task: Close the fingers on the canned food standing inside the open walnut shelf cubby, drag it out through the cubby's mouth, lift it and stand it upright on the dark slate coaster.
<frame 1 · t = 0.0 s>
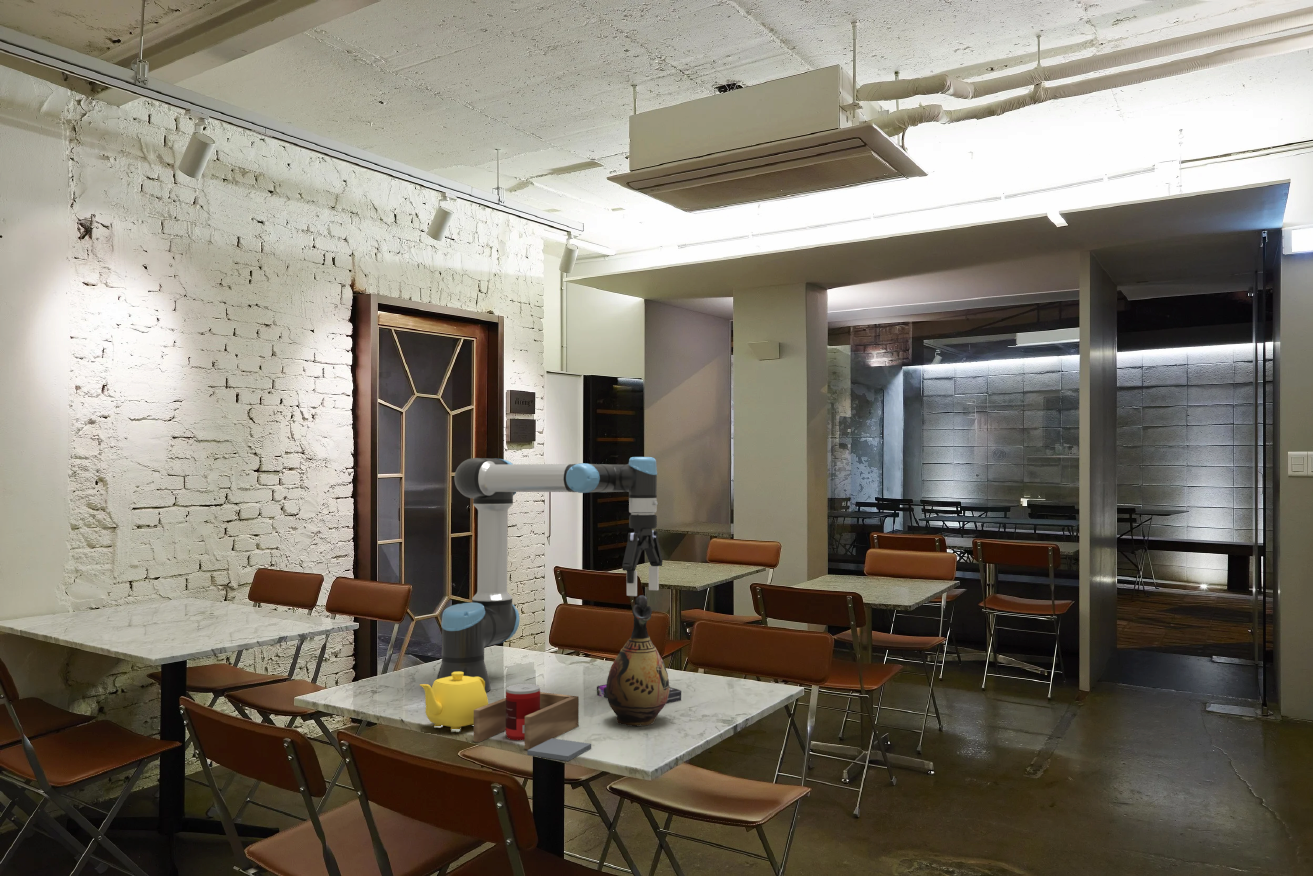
hand: (643, 593, 247), 28 cm above the table, fingers open, 13 cm apart
shelf: (527, 733, 212), on the table
ceramic jug: (637, 721, 223), on the table
teapot: (452, 728, 217), on the table
box: (638, 700, 246), on the table
coaster: (559, 751, 198), on the table
canned food: (522, 736, 210), resting in shelf
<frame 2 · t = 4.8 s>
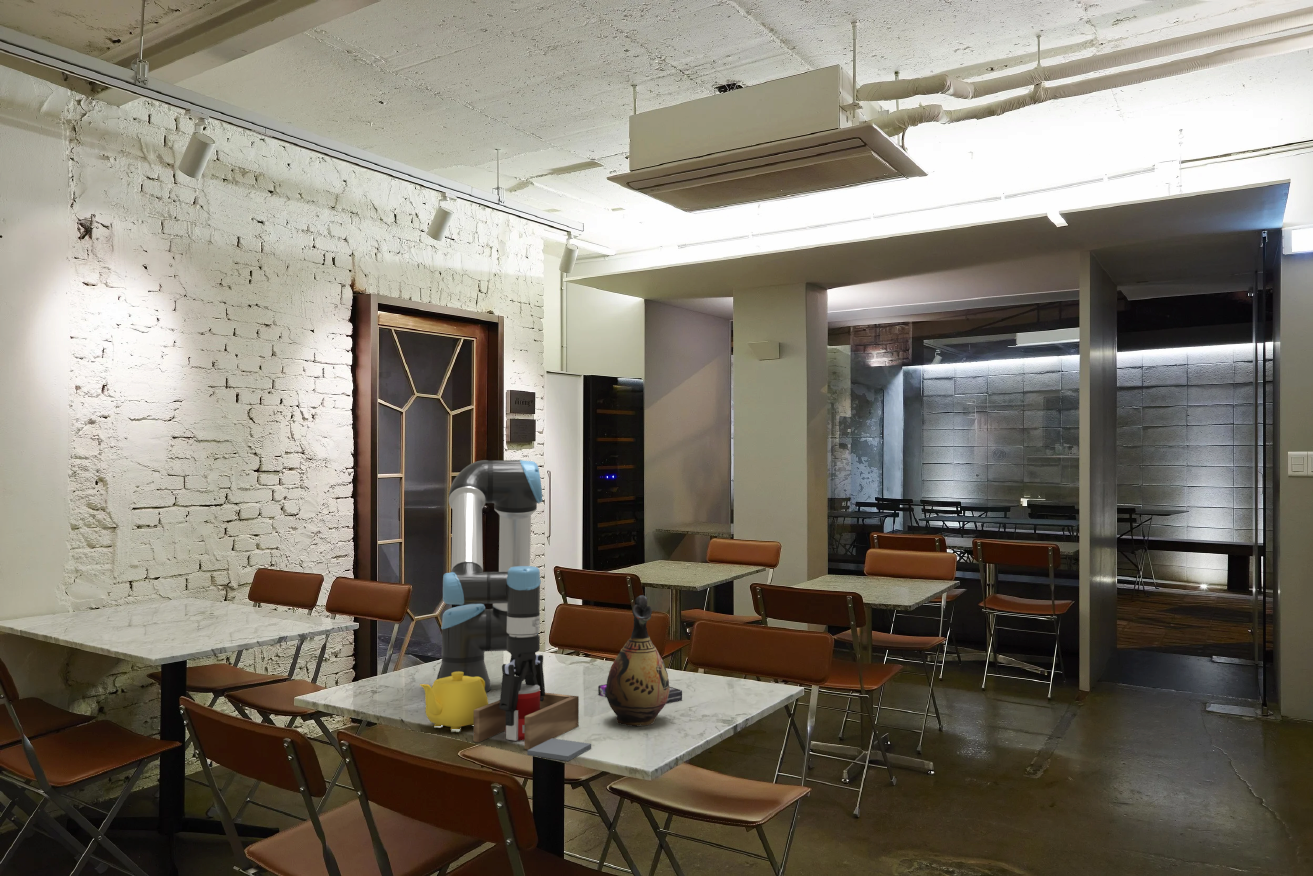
hand: (522, 734, 210), 0 cm above the table, fingers closed on canned food, 8 cm apart
canned food: (522, 736, 210), resting in shelf, touching gripper
everything else where it was.
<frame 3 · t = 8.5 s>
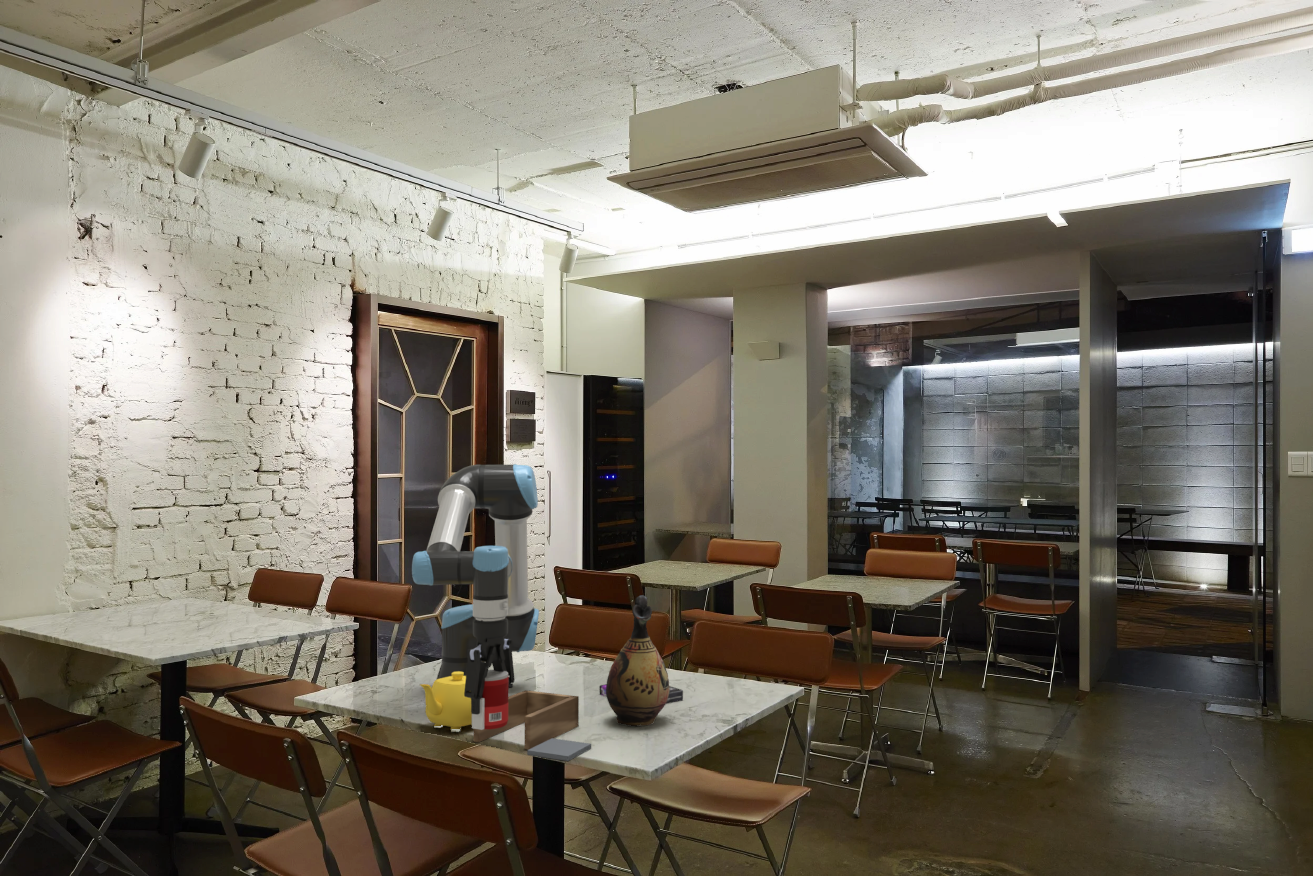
hand: (490, 723, 199), 6 cm above the table, fingers closed on canned food, 8 cm apart
canned food: (490, 725, 199), point 5 cm above the table, touching gripper
everything else where it was.
when the fingers open (3 cm above the table, at t = 12.7 s): canned food drops 1 cm, resting on coaster.
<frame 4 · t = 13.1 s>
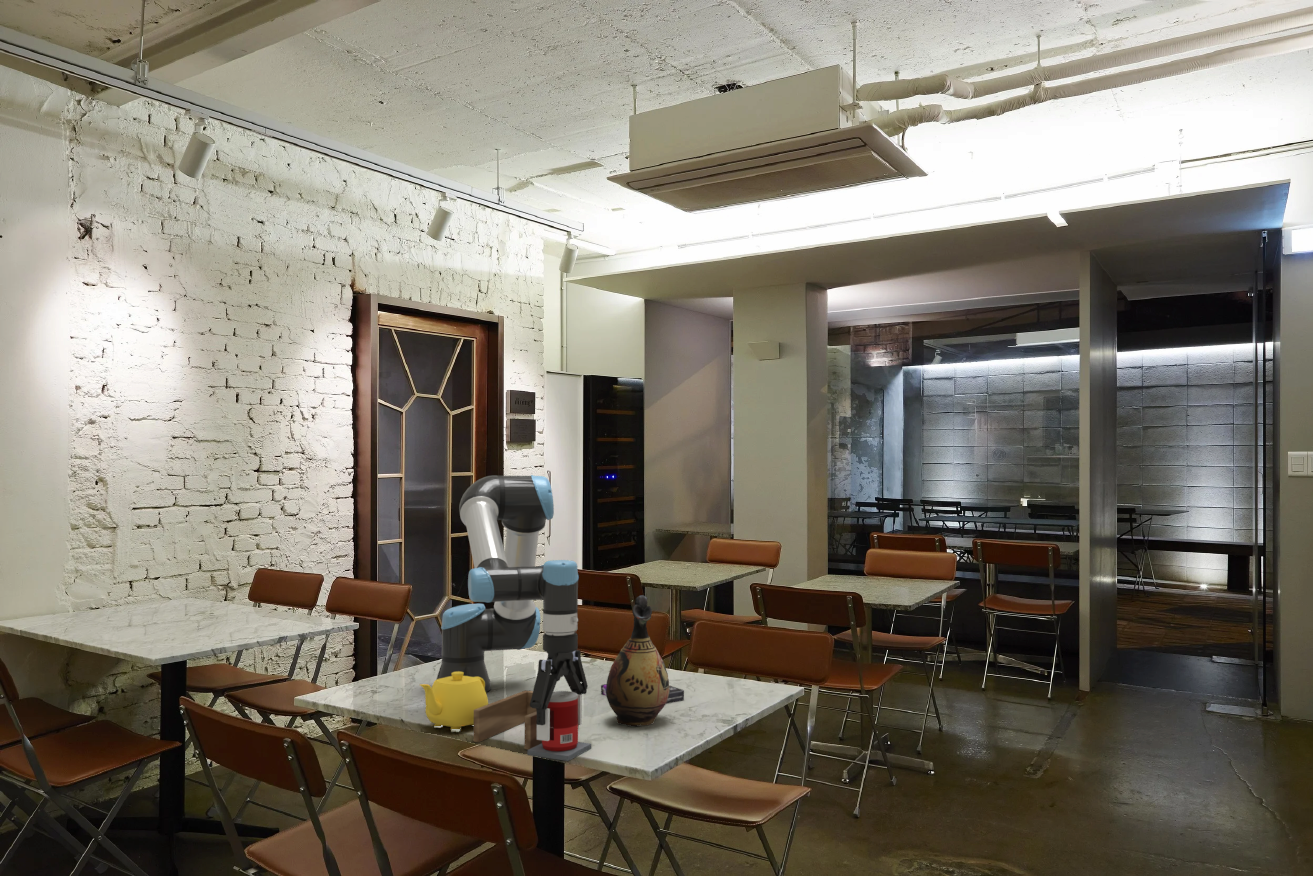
hand: (559, 732, 198), 4 cm above the table, fingers open, 13 cm apart
canned food: (560, 747, 198), point 1 cm above the table, touching coaster
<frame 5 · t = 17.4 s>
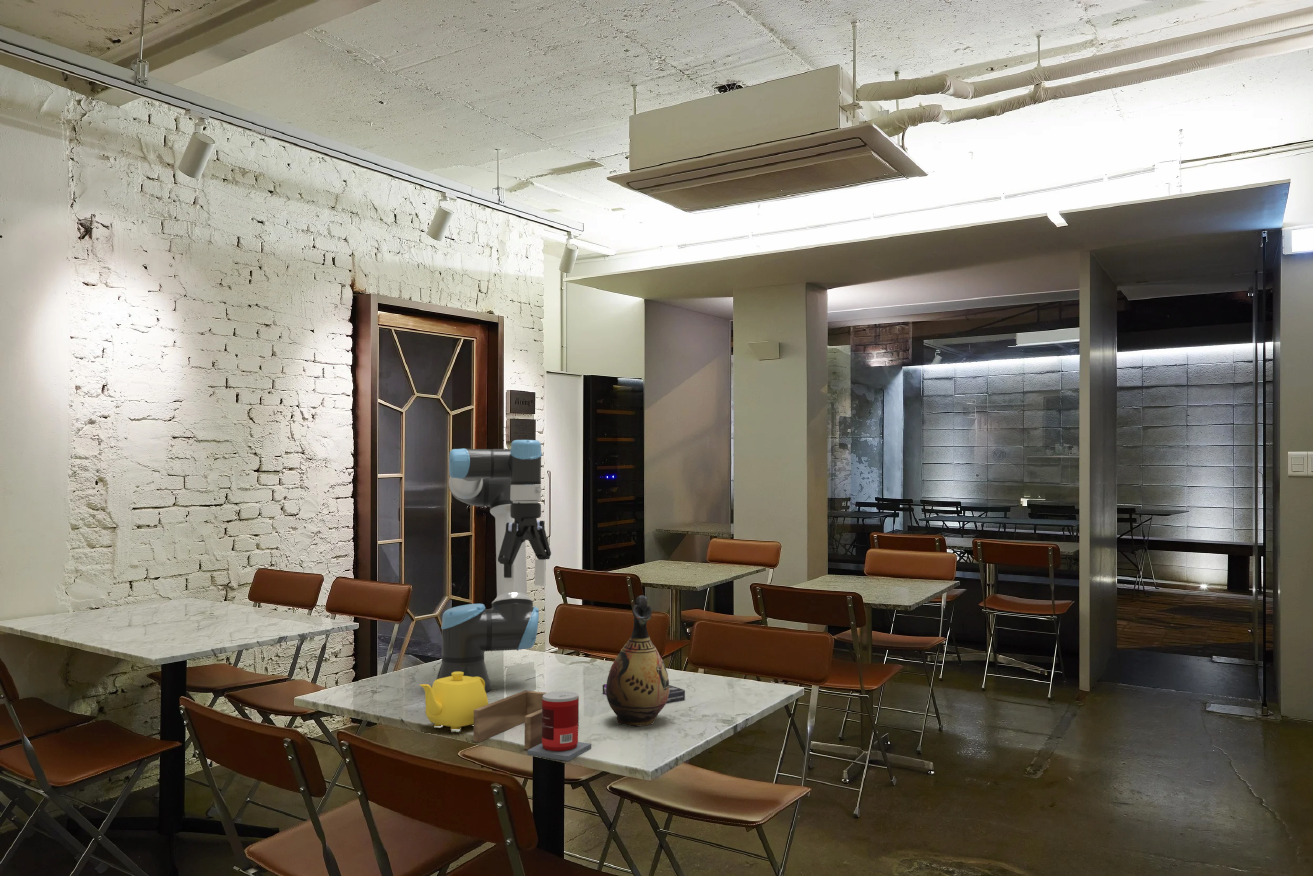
hand: (525, 588, 226), 32 cm above the table, fingers open, 13 cm apart
at the end: canned food inside the target area on the coaster (0.1 cm from its centre), point 0.8 cm above the coaster's base; canned food tilted 1°; the gripper is holding nothing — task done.
